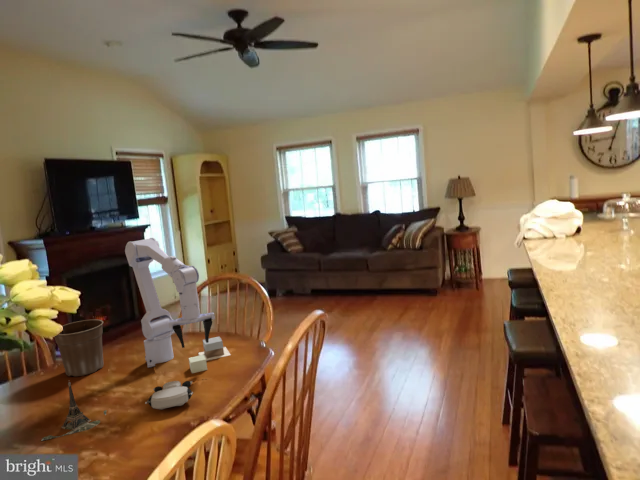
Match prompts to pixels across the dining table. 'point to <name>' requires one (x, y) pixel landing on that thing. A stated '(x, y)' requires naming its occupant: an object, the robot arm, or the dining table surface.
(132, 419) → the dining table surface
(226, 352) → the cream board
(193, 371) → the sage block
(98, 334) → the plant pot
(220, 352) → the walnut slab
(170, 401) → the robot toy
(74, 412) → the eiffel tower figurine
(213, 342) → the light grey flat block
